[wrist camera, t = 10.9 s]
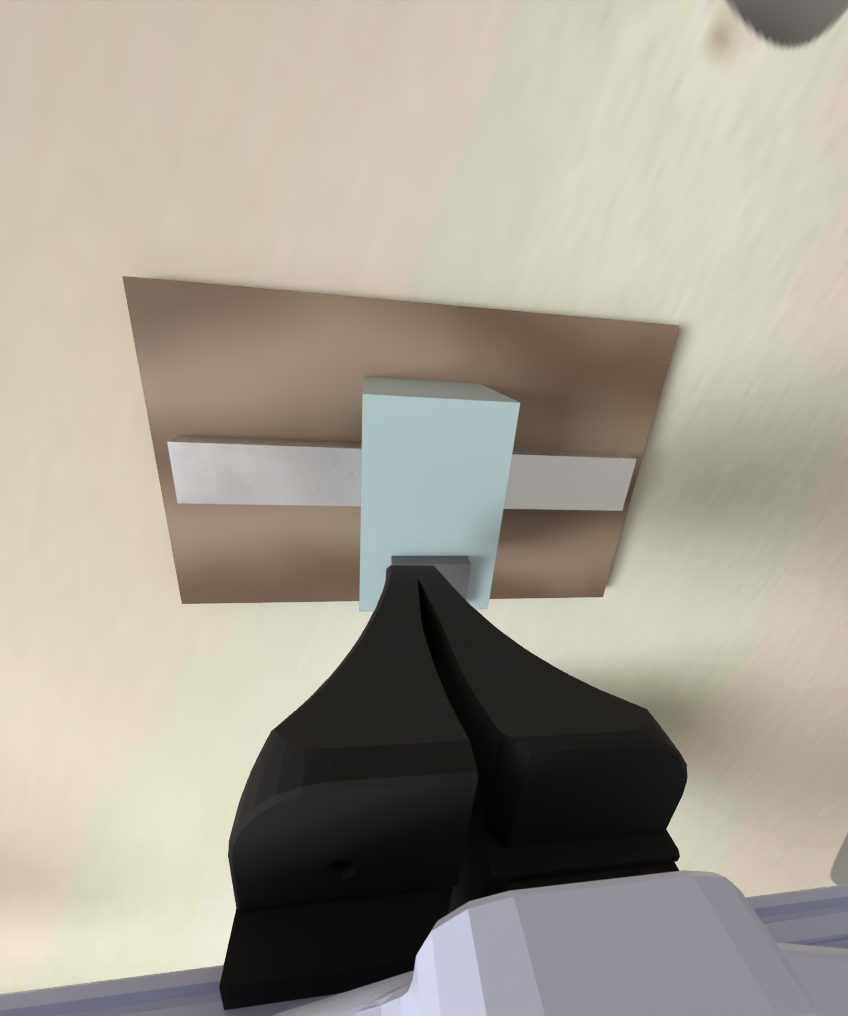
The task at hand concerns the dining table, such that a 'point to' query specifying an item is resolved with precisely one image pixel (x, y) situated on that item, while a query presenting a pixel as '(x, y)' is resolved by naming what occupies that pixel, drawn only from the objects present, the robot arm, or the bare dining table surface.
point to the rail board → (338, 431)
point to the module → (433, 481)
